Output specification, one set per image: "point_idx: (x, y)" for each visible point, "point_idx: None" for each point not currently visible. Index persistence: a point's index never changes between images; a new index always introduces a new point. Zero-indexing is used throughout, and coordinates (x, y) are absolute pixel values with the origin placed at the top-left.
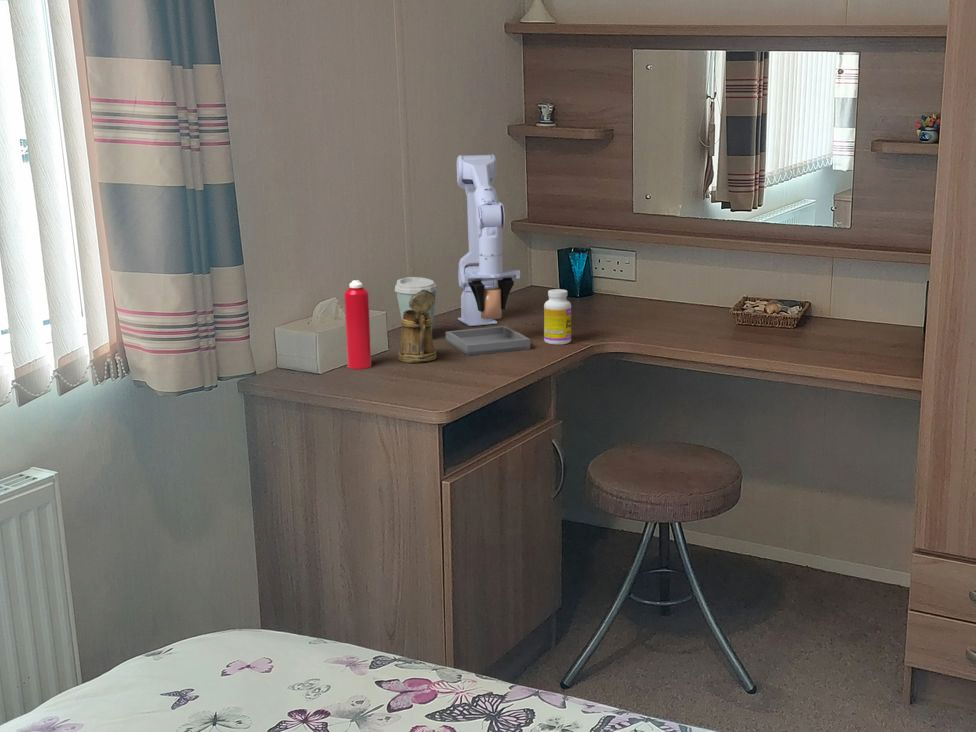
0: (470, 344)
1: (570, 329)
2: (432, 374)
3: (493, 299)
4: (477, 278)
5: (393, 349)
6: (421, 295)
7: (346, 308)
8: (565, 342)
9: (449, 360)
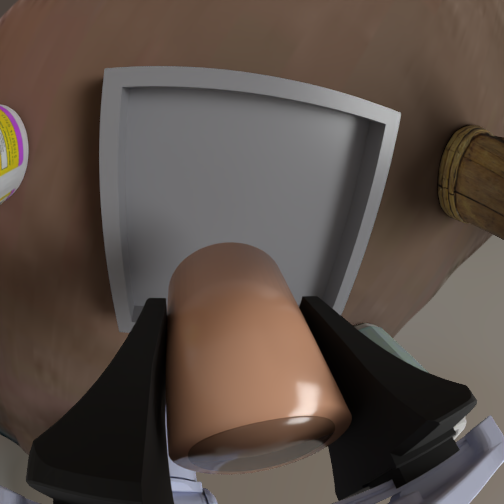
0: (386, 119)
1: None
2: (489, 39)
3: (272, 334)
4: (418, 490)
5: (441, 276)
6: None
7: None
8: None
9: (434, 102)
